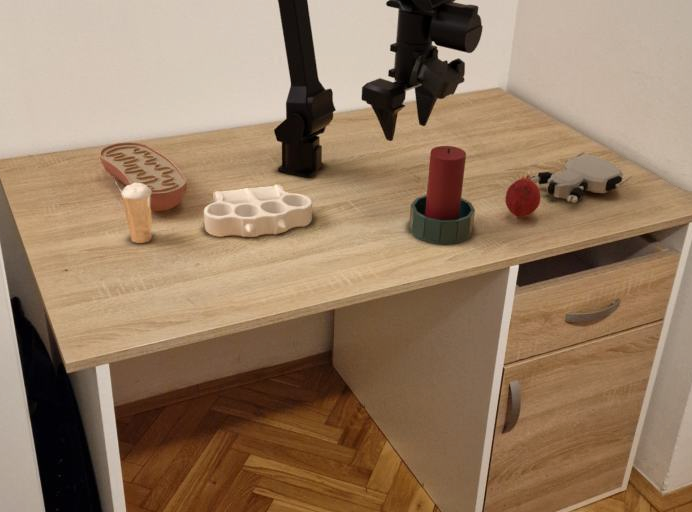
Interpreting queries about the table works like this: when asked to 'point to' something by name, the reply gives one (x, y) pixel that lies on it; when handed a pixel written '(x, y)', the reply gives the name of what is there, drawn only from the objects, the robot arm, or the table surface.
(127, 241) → the table surface
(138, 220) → the milkshake
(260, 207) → the knuckle duster
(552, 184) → the robot toy
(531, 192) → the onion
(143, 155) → the mitochondrion model
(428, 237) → the shallow bowl
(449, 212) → the candle
